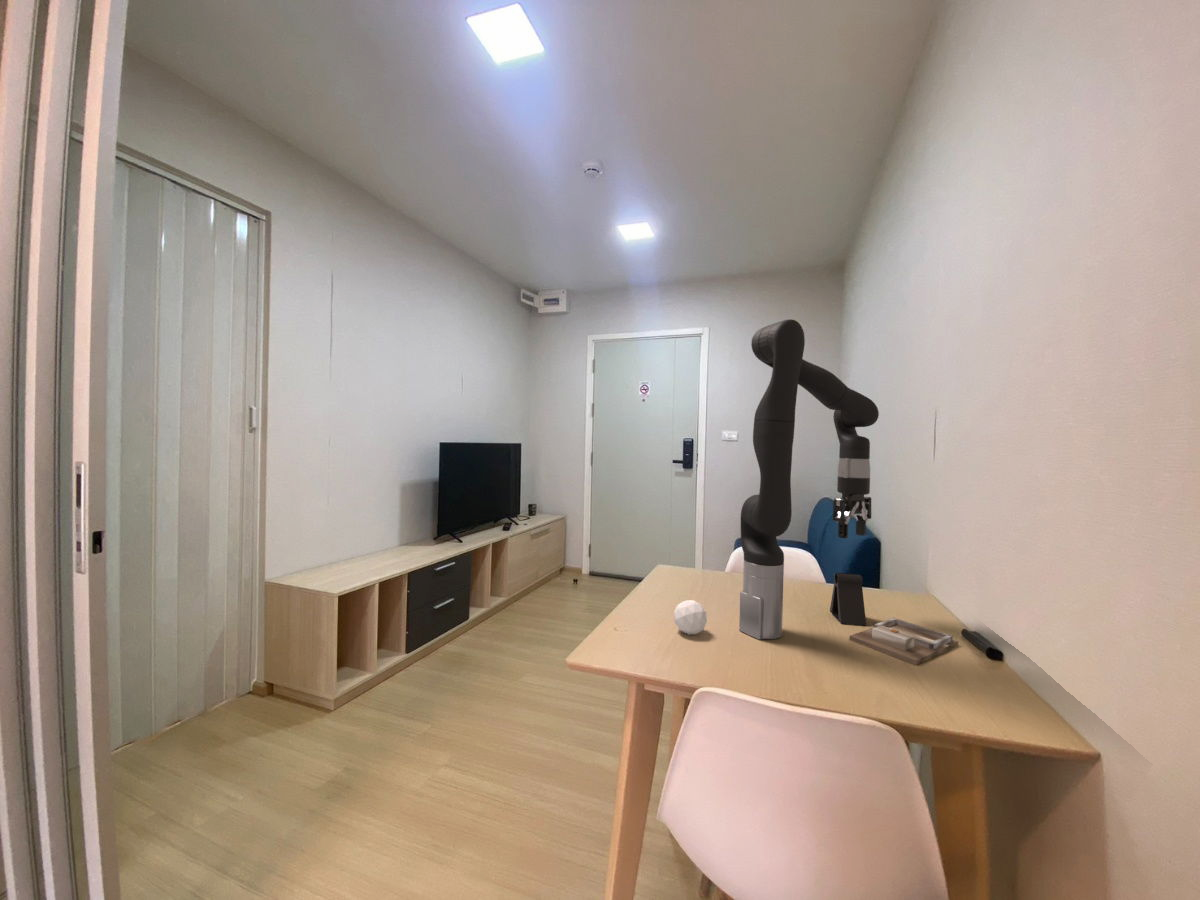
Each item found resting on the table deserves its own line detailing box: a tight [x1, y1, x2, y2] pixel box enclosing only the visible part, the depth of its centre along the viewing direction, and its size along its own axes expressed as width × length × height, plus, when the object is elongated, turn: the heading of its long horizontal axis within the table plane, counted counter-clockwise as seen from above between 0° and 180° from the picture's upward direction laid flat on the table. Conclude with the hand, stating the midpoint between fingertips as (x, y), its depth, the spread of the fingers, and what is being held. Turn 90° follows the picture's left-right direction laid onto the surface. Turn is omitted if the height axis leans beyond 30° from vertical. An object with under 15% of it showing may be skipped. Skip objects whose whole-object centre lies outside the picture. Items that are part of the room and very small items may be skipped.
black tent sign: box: [829, 572, 867, 626], centre depth 118 cm, size 9×6×12 cm, turn 169°
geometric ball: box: [673, 599, 708, 635], centre depth 107 cm, size 8×8×8 cm
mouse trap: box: [849, 617, 959, 666], centre depth 104 cm, size 20×14×4 cm
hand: (851, 536), depth 118 cm, fingers open, 8 cm apart
